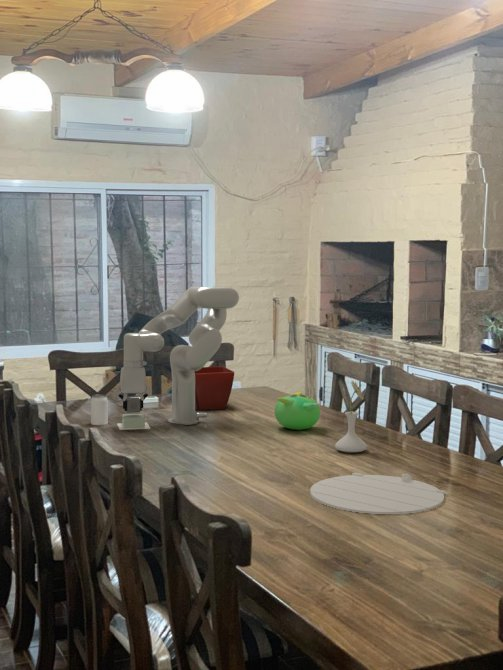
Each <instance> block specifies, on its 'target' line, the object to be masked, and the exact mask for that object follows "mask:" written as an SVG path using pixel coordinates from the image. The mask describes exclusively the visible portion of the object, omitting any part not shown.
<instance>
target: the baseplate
mask: <svg viewBox="0 0 503 670" xmlns="http://www.w3.org/2000/svg"><path fill="white" fill-rule="evenodd" d="M116 425H117V427H118V430H119V431H123V430H126V431H127V430H150V429H152V428H151V427H150V425H149V423H148V422H146V421H145V428H124V427H123V425H122V422H121V423H119V422H118V423H116Z"/></svg>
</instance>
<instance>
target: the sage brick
mask: <svg viewBox="0 0 503 670" xmlns="http://www.w3.org/2000/svg"><path fill="white" fill-rule="evenodd" d="M121 421H122V422H121V423H122V425H123V427H124V428H145V422H146V418H145V416H144V414H143V413H126V414H124V413H122V415H121Z"/></svg>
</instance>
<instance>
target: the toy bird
mask: <svg viewBox="0 0 503 670" xmlns="http://www.w3.org/2000/svg"><path fill="white" fill-rule="evenodd" d="M302 393H303V391H300V390H299V391H297V392H293V394H289V395H286V396H284V397H278V398H277V403H276V404H275V407H274V416H275V419H276V421H277V422H278V423H279V424H280V425H281V426H282V427H284V428H286V429H290V430H296V431H300V430H301V431H302V430H307V429H309V428H313V427H314V426H316V424H317V423H318V422H319V419H320V417H321V407H320V405H319V403H318V402H317V401H316V400H315V399H314V398H313V397H311V396H309V395H307V394H302Z"/></svg>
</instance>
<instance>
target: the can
mask: <svg viewBox="0 0 503 670" xmlns="http://www.w3.org/2000/svg"><path fill="white" fill-rule="evenodd" d="M108 408H109V406H108V397H107V395H105V394H94V395H92V396H91V399H90V421H91V422H90V423H91V425H93V426H106V425H108V423H109V422H108V421H109V420H108V418H109V417H108V413H109V411H108Z"/></svg>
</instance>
